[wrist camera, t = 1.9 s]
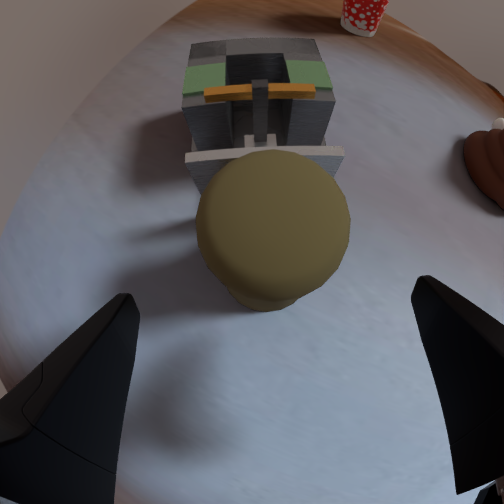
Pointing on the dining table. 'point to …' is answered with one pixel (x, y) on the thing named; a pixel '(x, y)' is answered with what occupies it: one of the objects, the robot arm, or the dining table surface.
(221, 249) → the cork
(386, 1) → the beverage cup
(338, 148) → the plunger
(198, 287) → the dining table surface
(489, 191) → the poop emoji
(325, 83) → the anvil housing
